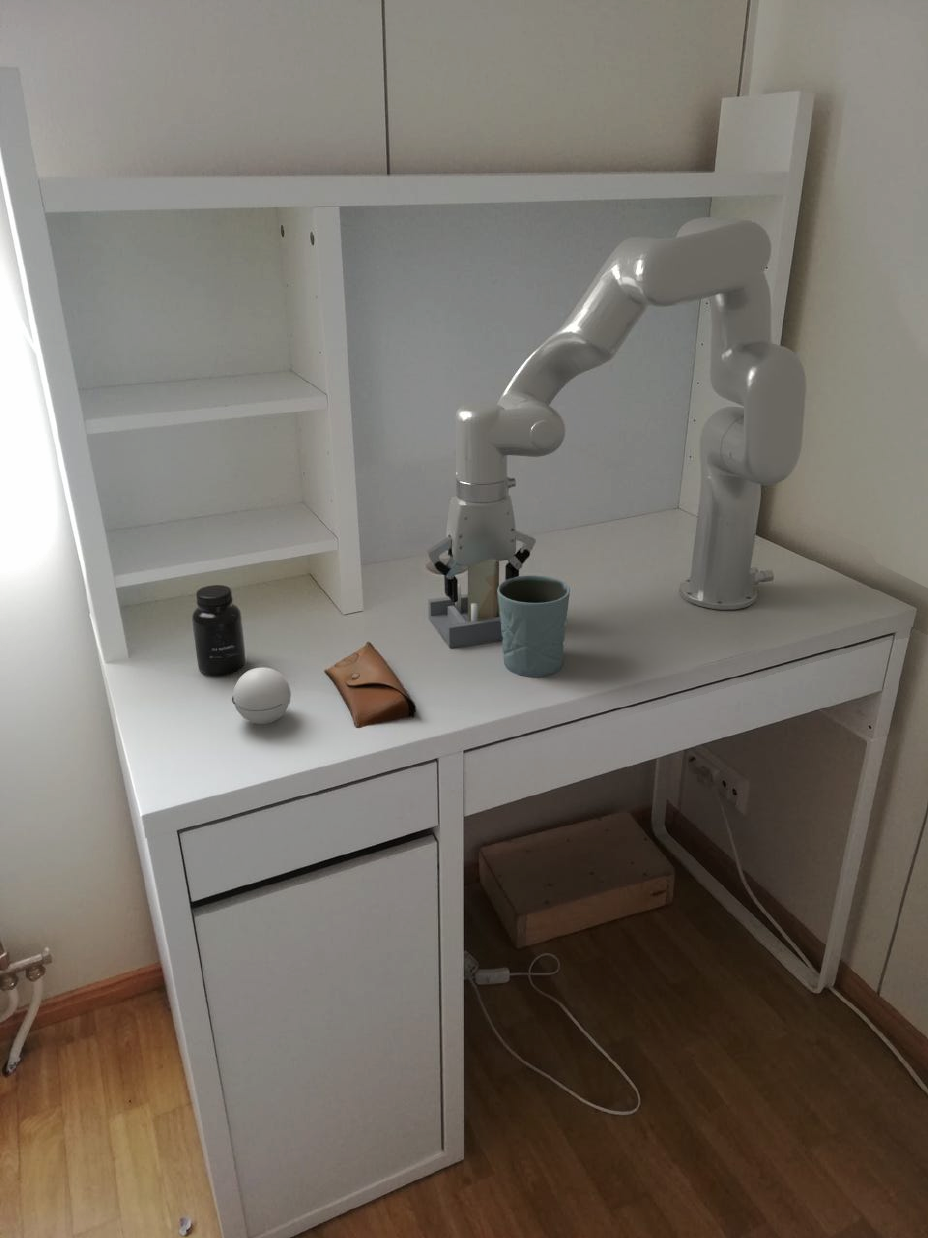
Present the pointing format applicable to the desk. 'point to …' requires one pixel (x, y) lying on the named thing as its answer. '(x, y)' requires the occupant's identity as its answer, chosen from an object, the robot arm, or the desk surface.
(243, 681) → the white ball
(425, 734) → the desk surface
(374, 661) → the sunglasses case
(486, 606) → the box
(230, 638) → the supplement bottle
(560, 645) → the teal embossed cup
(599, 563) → the desk surface
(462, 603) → the tray
